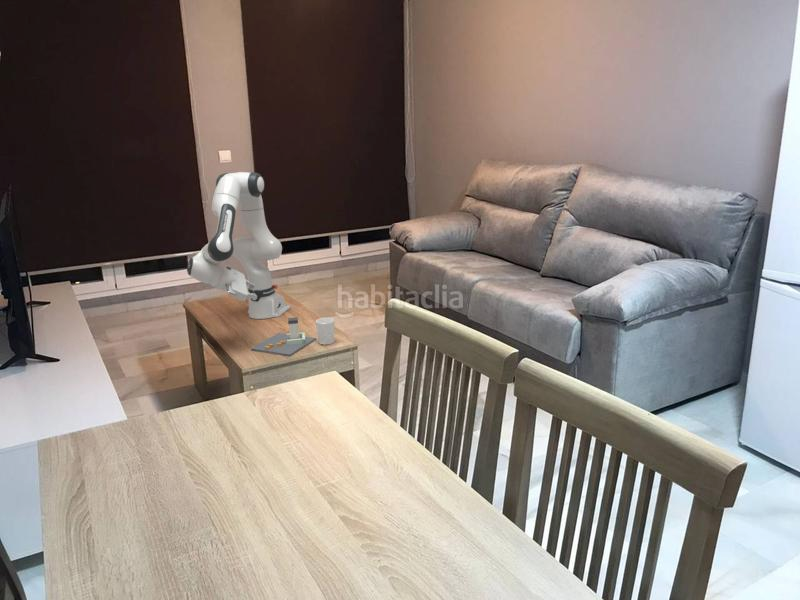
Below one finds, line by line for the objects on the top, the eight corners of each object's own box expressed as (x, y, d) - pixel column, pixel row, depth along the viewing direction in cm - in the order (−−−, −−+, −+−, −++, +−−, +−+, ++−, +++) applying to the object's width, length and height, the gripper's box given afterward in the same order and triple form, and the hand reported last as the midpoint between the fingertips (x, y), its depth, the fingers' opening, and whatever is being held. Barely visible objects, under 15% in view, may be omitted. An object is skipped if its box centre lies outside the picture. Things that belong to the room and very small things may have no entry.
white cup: (325, 337, 289) (324, 316, 286) (339, 340, 284) (337, 319, 281) (313, 343, 283) (311, 321, 280) (327, 346, 278) (325, 324, 275)
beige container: (290, 339, 286) (288, 318, 283) (299, 338, 287) (297, 317, 284) (290, 342, 282) (288, 321, 279) (299, 342, 283) (297, 320, 280)
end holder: (287, 345, 280) (287, 340, 279) (287, 338, 288) (286, 333, 288) (305, 343, 281) (305, 339, 280) (304, 336, 289) (304, 332, 289)
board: (278, 334, 295) (278, 330, 295) (316, 339, 287) (315, 335, 286) (251, 350, 278) (250, 345, 278) (290, 356, 270) (289, 351, 269)
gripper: (230, 285, 266) (260, 297, 273) (227, 263, 283) (256, 275, 290) (223, 297, 268) (253, 309, 274) (220, 275, 285) (249, 287, 292)
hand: (254, 292), depth 282 cm, fingers open, 8 cm apart
